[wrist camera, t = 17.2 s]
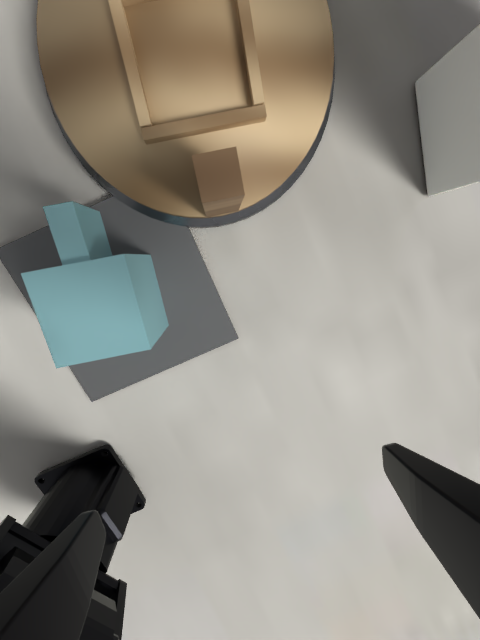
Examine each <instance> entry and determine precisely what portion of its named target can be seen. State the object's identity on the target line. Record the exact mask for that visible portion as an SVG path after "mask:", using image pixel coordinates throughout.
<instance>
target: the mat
mask: <svg viewBox="0 0 480 640" xmlns="http://www.w3.org/2000/svg"><path fill="white" fill-rule="evenodd" d="M89 208H91V209H94V210H97V211H99V212H100V214H101V218H102V221H103V225H104V228H105V231H106V235H107V238H108V242H109V245H110V249H111V252H112V255H113V256H115V255H120V254H144V255H151V258H152V262H153V266H154V270H155V274H156V277H157V281H158V285H159V289H160V293H161V297H162V301H163V305H164V308H165V312H166V316H167V320H168V324H169V326H168V327H167V328H166V330H165V331H164V332H163V334H162V335H161V336H160V338H159V339H158V340H157V342H156V343H155V344H154V346H153V347H152V348H151V349H150V350H145V351H140V352H135V353H130V354H125V355H120V356H115V357H110V358H105V359H100V360H95V361H90V362H85V363H80V364H75V365H70V366H69V367H70V369H71V370H72V372H73V373H74V375H75V377H76V378H77V380H78V381H79V383H80V384H81V386H82V388H83V389H84V391H85V392H86V394H87V395H88V397H89V398H90V400H91V402H93V401H95V400H97V399H100V398H102V397H104V396H107V395H109V394H111V393H114V392H116V391H118V390H121V389H123V388H125V387H127V386H130V385H132V384H134V383H137V382H139V381H141V380H144V379H146V378H148V377H151V376H153V375H155V374H158V373H160V372H162V371H164V370H167V369H169V368H171V367H174V366H176V365H178V364H181V363H183V362H185V361H188V360H190V359H192V358H194V357H197V356H199V355H201V354H204V353H206V352H208V351H211V350H213V349H215V348H218V347H220V346H222V345H224V344H227V343H229V342H231V341H234V340H236V339H238V336H237V334H236V331H235V329H234V327H233V325H232V323H231V320H230V318H229V316H228V314H227V311H226V309H225V307H224V305H223V303H222V300H221V298H220V296H219V294H218V292H217V289H216V287H215V285H214V283H213V280H212V278H211V276H210V274H209V272H208V269H207V267H206V265H205V263H204V261H203V258H202V256H201V254H200V252H199V249H198V247H197V245H196V243H195V241H194V238H193V236H192V234H191V232H190V230H189V227H185V226H179V225H174V224H169V223H165V222H162V221H159V220H156V219H153V218H150V217H148V216H146V215H144V214H142V213H140V212H138V211H136V210H134V209H132V208H131V207H129V206H127V205H126V204H124V203H123V202H121V201H120V200H118V199H117V198H115V197H114V196H113V197H110V198H108V199H106V200H104V201H102V202H99V203H97V204H95V205H93V206H91V207H89ZM0 259H1V261H2V263H3V264H4V266H5V267H6V269H7V270H8V272H9V273H10V275H11V277H12V278H13V280H14V281H15V283H16V284H17V286H18V288H19V289H20V291H21V292H22V294H23V295H24V297H25V298H26V300H27V302H28V303H29V305H30V306H31V308H32V309H33V311H34V313H35V310H34V307H33V305H32V302H31V299H30V297H29V294H28V292H27V289H26V286H25V284H24V281H23V278H22V276H21V273H25V272H31V271H36V270H41V269H46V268H52V267H57V266H62V262H61V259H60V256H59V253H58V250H57V247H56V245H55V242H54V239H53V236H52V233H51V230H50V227H49V226H46V227H44V228H42V229H40V230H38V231H35V232H33V233H31V234H29V235H27V236H24V237H22V238H20V239H18V240H16V241H13V242H11V243H9V244H7V245H5V246H2V247H0ZM35 314H36V313H35ZM36 316H37V315H36Z"/></svg>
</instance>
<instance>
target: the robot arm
mask: <svg viewBox="0 0 480 640" xmlns="http://www.w3.org/2000/svg"><path fill="white" fill-rule="evenodd" d="M104 451H106V452H107V453H105V452H104ZM382 455H383V467H384V471H385V473H386V475H387V477H388V479H389V481H390V482H391V484H392V486H393V488H394V489H395V491H396V493H397V495H398V496H399V498H400V500H401V502H402V503H403V505H404V507H405V509H406V510H407V512H408V514H409V516H410V517H411V519H412V521H413V522H414V524H415V526H416V527H417V529H418V530H419V532H420V533H421V535H422V536H423V538H424V539H425V541H426V542H427V544H428V545H429V547H430V548H431V550H432V551H433V552H434V554H435V555H436V557H437V558H438V560H439V561H440V562H441V564H442V565H443V567H444V568H445V570H446V571H447V573H448V574H449V575H450V577H451V578H452V580H453V581H454V583H455V584H456V585H457V587H458V588H459V590H460V591H461V593H462V594H463V596H464V597H465V598H466V600H467V601H468V603H469V604H470V606H471V607H472V608H473V610H474V611H475V613H476V614H477V616H478V617H479V619H480V484H478V483H476V482H474V481H472V480H470V479H468V478H466V477H464V476H462V475H460V474H458V473H456V472H454V471H452V470H450V469H448V468H446V467H444V466H442V465H440V464H438V463H436V462H434V461H432V460H430V459H428V458H426V457H424V456H422V455H419V454H417V453H415V452H413V451H411V450H409V449H407V448H405V447H403V446H401V445H399V444H397V443H391V444H387V445H384V446H383V447H382ZM35 483H36V485H37V486H38V487H39V488H40V490H41V491H42V492H43V494H44V497H43V498H42V499H41V501H40V502H39V503H38V505H37V506H36V507H35V509H34V510H33V511H32V513H31V514H30V515H29V517H28V518H27V520H26V521H25V522H24V524H23V525H21V524H19V523H17V522H15V521H16V519H14V518H13V517H11V516H9V515H8V516H7V517H6V518H5V519H4V520H3V521H2V522H1V523H0V640H121V637H122V627H123V617H124V607H125V597H126V587H127V583H125V582H124V581H122V580H120V579H119V580H116V579H115V578H113V577H111V576H109V575H108V574H106V572H107V569H108V567H109V564H110V561H111V558H112V556H113V553H114V550H115V547H116V544H117V542H118V541H119V540H121V539H122V537H123V535H124V532H125V529H126V526H127V523H128V520H129V517H130V514H132V513H134V512H137V511H139V510H141V509H143V508H144V506H145V503H146V499H145V497H144V496H143V494H142V493H141V491H140V490H139V487H138V486H137V484H136V483H135V481H134V480H133V478H132V477H131V475H130V474H129V472H128V470H127V469H126V467H125V466H124V465H123V464H122V462H121V461H120V459H119V457H118V456H117V454H116V453H115V451H114V450H113V448H112V447H111V446H109V445H104V446H101V447H99V448H97V449H94V450H92V451H89V452H87V453H85V454H82V455H80V456H78V457H75V458H73V459H71V460H68V461H66V462H64V463H61V464H59V465H57V466H54V467H52V468H50V469H47V470H45V471H43V472H41V473H39V474H38V475H37V477H36V478H35Z"/></svg>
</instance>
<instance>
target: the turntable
mask: <svg viewBox="0 0 480 640" xmlns="http://www.w3.org/2000/svg"><path fill="white" fill-rule="evenodd" d="M36 19H37V45H38V52H39V59H40V66H41V70H42V74H43V78H44V81H45V85H46V89H47V92H48V95H49V97H50V100H51V102H52V105H53V108H54V110H55V113H56V114H57V116H58V118H59V120H60V122H61V124H62V126H63V128H64V130H65V132H66V133H67V135H68V137H69V138H70V140H71V141H72V143H73V144H74V146H75V147H76V149H77V150H78V151H79V153H80V154H81V155H82V156H83V157H84V159H85V160H86V161H87V162H88V163H89V165H90V166H91V167H92V168H93V169H94V170H95V171H96V172H97V173H98V174H99V175H100V176H102V177H103V178H104V179H105V180H106V181H107V182H108V183H110V184H111V185H112V186H114V187H115V188H116V189H118V190H119V191H120V192H122V193H123V194H125V195H126V196H128V197H130V198H131V199H133V200H135V201H137V202H138V203H140V204H142V205H144V206H147V207H149V208H151V209H153V210H156V211H159V212H162V213H166V214H169V215H173V216H179V217H186V218H212V217H220V216H225V215H228V214H232V213H236V212H239V211H241V210H243V209H246V208H248V207H250V206H253V205H254V204H256V203H258V202H259V201H261V200H263V199H264V198H266V197H267V196H269V195H270V194H271V193H272V192H274V191H275V190H276V189H277V188H279V187H280V186H281V185H282V184H283V183H284V182H285V181H286V180H287V178H288V177H289V176H290V175H291V174H292V173H293V172H294V171H295V170H296V168H297V167H298V166H299V164H300V163H301V161H302V160H303V159H304V157H305V156H306V155H307V153H308V151H309V149H310V148H311V146H312V144H313V142H314V140H315V139H316V136H317V134H318V132H319V129H320V127H321V124H322V122H323V120H324V116H325V113H326V109H327V106H328V102H329V98H330V92H331V86H332V81H333V67H334V43H333V31H332V24H331V17H330V11H329V8H328V4H327V0H38V7H37V18H36Z"/></svg>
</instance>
